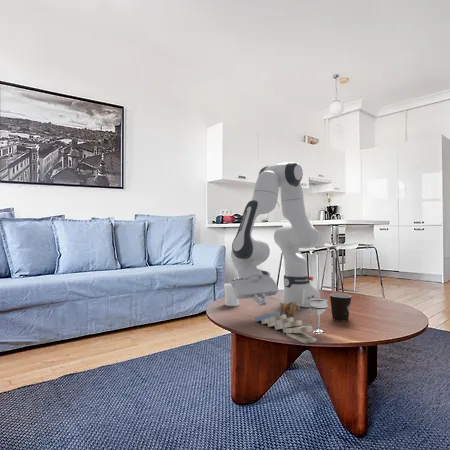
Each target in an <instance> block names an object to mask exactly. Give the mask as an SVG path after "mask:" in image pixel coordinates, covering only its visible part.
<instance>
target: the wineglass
mask: <svg viewBox="0 0 450 450" xmlns="http://www.w3.org/2000/svg"><path fill="white" fill-rule="evenodd" d="M310 300H311V301H310V307H309V308H310V310H311V311H312V312H314V313H315V314H316V315H317V328H316V329H312V330H313V332H312V333H314V332H324V331H325V330H324V331H323V329H322V328H321V329H320V317H321V314H323V313H325V312H326V311H327V310H328V308H329V303H328V302H329V299H327V298H324V297H320V298H318V297H315V298H310Z"/></svg>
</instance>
